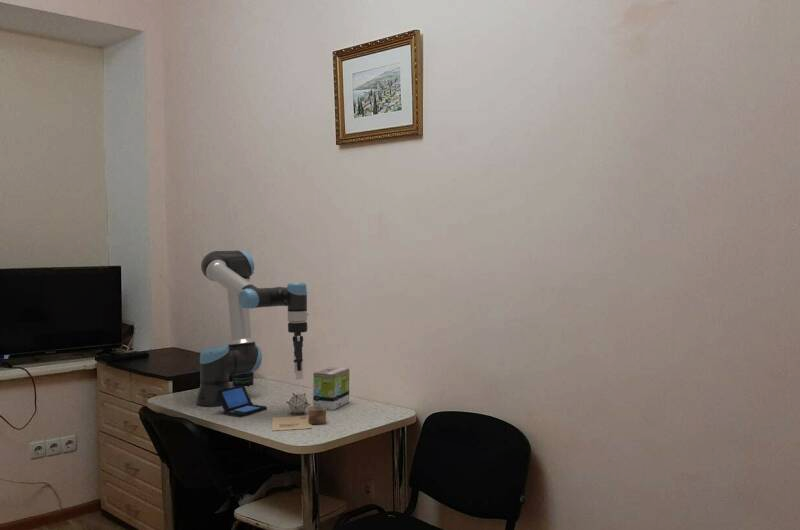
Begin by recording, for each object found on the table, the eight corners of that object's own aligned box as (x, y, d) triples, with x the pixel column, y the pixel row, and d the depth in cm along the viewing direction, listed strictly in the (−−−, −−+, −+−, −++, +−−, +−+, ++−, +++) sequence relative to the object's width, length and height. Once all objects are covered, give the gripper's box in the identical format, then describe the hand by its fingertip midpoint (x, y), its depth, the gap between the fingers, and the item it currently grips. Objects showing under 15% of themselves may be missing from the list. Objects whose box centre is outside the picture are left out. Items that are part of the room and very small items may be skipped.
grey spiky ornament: (302, 422, 259) (317, 400, 261) (297, 419, 251) (312, 397, 253) (284, 409, 261) (299, 388, 264) (279, 406, 253) (294, 384, 256)
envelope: (272, 431, 232) (272, 430, 232) (272, 418, 250) (272, 417, 250) (312, 428, 235) (312, 427, 235) (309, 416, 252) (309, 415, 252)
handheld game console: (241, 418, 252) (241, 394, 252) (215, 414, 258) (215, 391, 258) (268, 409, 265) (268, 386, 265) (243, 406, 272) (243, 384, 272)
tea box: (335, 410, 262) (334, 373, 262) (312, 408, 265) (312, 372, 265) (350, 402, 276) (349, 367, 276) (328, 400, 280) (328, 366, 279)
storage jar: (247, 382, 322) (247, 351, 321) (257, 385, 314) (257, 354, 314) (228, 384, 315) (228, 353, 315) (238, 388, 308) (237, 356, 308)
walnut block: (309, 423, 240) (309, 410, 240) (308, 419, 246) (309, 406, 246) (325, 423, 241) (326, 410, 241) (324, 419, 247) (325, 406, 247)
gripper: (308, 324, 245) (309, 381, 245) (305, 318, 270) (306, 370, 270) (288, 325, 244) (289, 382, 244) (287, 319, 268) (288, 371, 269)
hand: (298, 376), depth 257 cm, fingers open, 13 cm apart
